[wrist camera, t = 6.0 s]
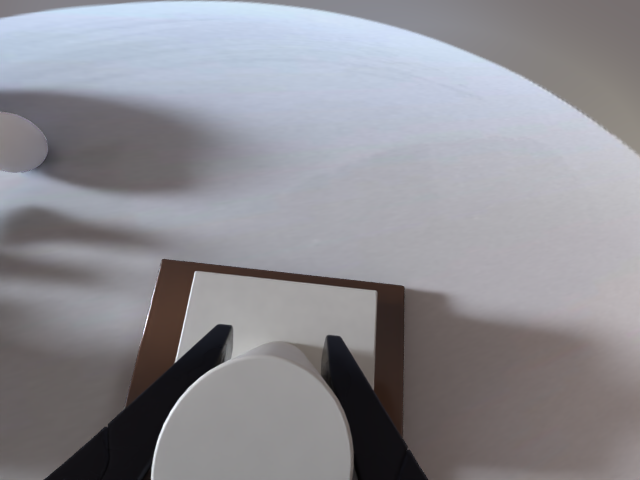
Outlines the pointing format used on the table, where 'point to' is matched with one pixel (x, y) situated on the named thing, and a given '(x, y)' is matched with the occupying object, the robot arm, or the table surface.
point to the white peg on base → (266, 382)
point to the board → (178, 278)
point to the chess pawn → (20, 144)
